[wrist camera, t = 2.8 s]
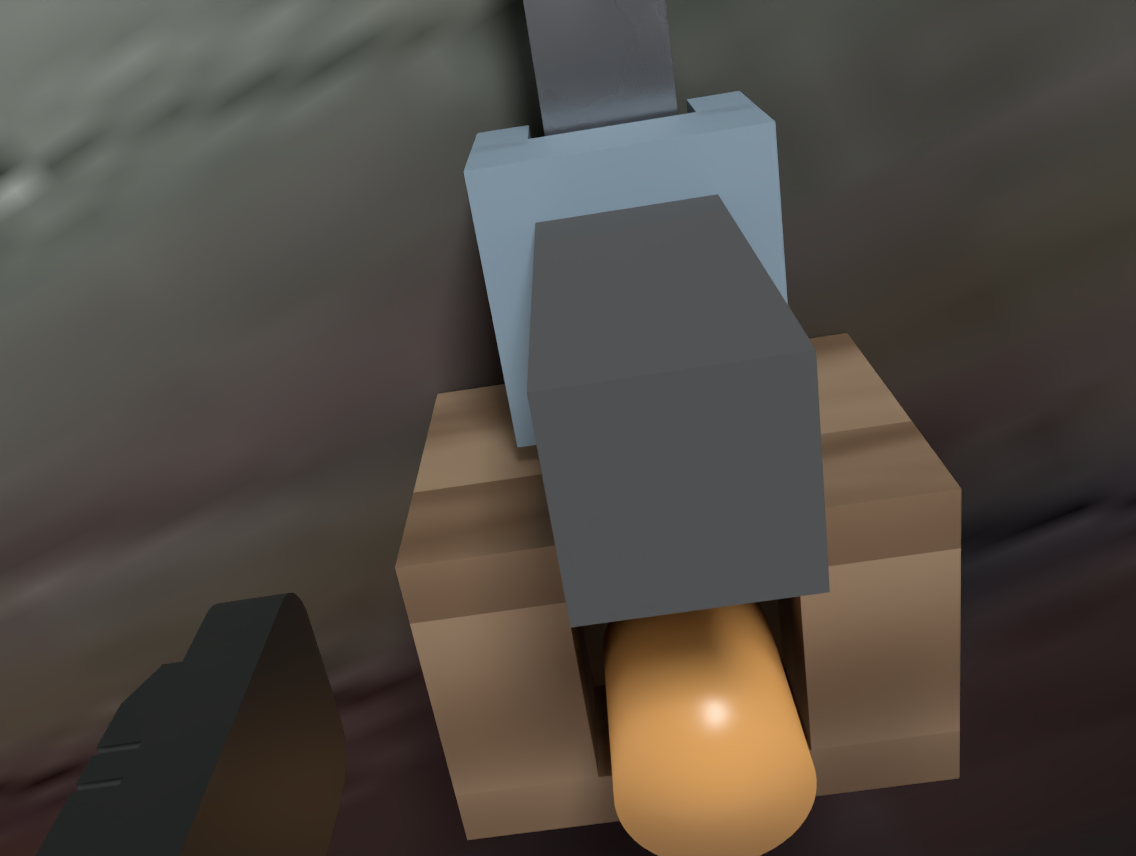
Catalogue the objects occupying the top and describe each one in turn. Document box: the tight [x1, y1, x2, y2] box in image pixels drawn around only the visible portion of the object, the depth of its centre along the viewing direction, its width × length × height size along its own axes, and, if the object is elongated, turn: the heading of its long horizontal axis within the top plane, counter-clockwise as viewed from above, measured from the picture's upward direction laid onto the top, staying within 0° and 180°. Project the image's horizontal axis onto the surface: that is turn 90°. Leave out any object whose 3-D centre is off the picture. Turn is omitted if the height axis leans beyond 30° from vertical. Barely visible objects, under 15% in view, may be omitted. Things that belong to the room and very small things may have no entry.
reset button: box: [603, 602, 817, 856], centre depth 17 cm, size 3×3×4 cm
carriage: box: [464, 91, 830, 627], centre depth 16 cm, size 5×5×10 cm
